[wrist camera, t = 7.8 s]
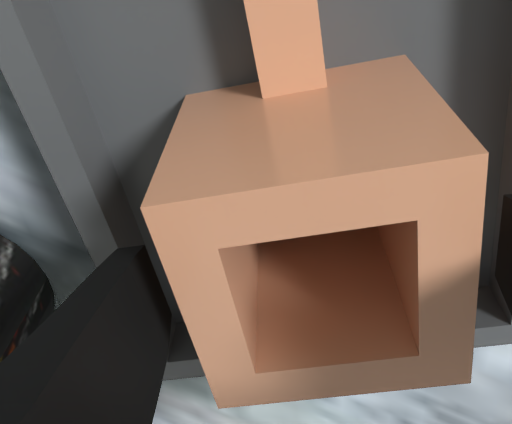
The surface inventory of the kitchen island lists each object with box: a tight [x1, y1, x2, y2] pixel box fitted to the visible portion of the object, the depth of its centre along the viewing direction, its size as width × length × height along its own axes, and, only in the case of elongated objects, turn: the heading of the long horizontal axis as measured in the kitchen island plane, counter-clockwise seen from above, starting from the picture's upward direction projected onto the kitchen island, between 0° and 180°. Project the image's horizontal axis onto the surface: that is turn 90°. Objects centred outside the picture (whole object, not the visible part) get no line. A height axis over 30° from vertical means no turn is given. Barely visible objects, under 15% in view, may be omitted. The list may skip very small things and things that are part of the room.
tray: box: [0, 0, 512, 381], centre depth 12 cm, size 14×12×2 cm
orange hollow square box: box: [140, 0, 489, 409], centre depth 10 cm, size 9×5×5 cm, turn 11°
